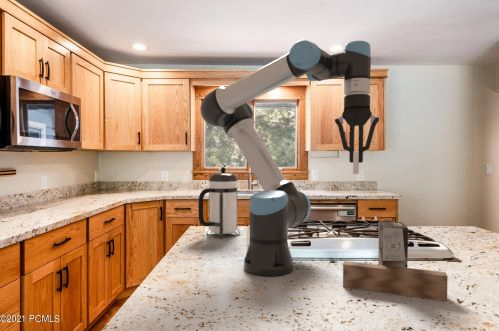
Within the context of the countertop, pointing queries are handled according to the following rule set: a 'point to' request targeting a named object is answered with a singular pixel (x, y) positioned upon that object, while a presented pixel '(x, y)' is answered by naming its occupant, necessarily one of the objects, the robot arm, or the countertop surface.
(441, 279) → the board
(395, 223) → the coffee box
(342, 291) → the countertop surface
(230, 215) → the coffee press
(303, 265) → the countertop surface
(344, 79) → the robot arm
